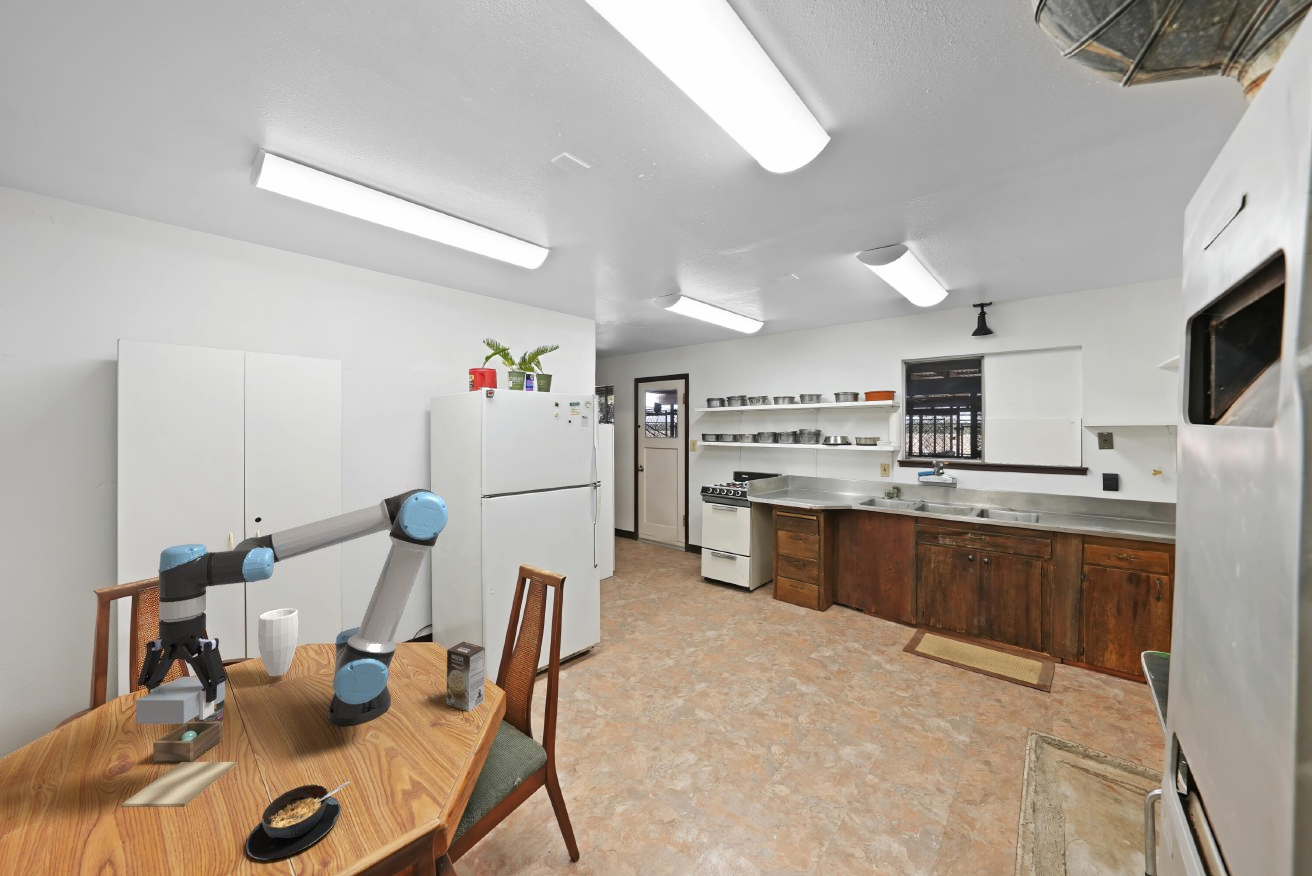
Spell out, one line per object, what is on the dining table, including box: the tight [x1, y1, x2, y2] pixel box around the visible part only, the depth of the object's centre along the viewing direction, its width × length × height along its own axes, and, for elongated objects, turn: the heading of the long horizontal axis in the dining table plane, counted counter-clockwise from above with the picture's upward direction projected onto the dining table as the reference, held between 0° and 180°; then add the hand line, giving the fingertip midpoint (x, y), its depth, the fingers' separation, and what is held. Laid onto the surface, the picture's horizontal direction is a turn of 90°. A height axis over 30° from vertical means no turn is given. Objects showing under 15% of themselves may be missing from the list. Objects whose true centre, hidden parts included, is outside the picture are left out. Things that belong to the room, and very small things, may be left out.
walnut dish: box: [152, 720, 223, 765], centre depth 120 cm, size 9×9×5 cm
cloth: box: [121, 761, 238, 807], centre depth 109 cm, size 13×13×1 cm
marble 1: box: [180, 731, 197, 741], centre depth 122 cm, size 3×3×3 cm
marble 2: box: [182, 737, 193, 741], centre depth 119 cm, size 3×3×3 cm
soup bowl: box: [245, 780, 351, 860], centre depth 96 cm, size 15×16×7 cm
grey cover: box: [135, 676, 226, 725], centre depth 109 cm, size 10×10×5 cm
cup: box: [257, 607, 299, 677], centre depth 154 cm, size 10×10×22 cm
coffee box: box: [446, 641, 486, 712], centre depth 142 cm, size 9×6×16 cm
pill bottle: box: [194, 699, 225, 725], centre depth 130 cm, size 6×6×10 cm
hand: (182, 716), depth 109 cm, fingers closed on grey cover, 10 cm apart
